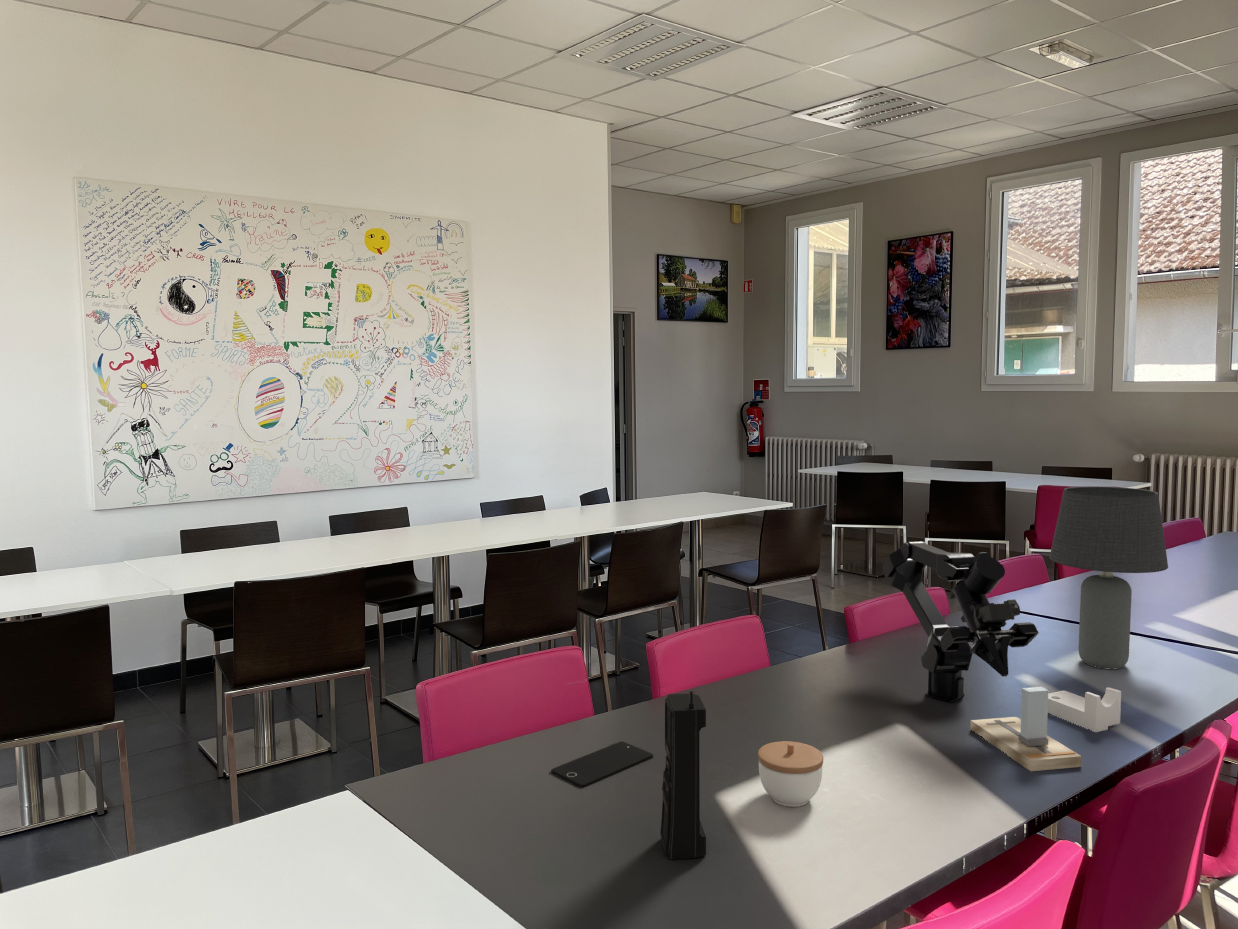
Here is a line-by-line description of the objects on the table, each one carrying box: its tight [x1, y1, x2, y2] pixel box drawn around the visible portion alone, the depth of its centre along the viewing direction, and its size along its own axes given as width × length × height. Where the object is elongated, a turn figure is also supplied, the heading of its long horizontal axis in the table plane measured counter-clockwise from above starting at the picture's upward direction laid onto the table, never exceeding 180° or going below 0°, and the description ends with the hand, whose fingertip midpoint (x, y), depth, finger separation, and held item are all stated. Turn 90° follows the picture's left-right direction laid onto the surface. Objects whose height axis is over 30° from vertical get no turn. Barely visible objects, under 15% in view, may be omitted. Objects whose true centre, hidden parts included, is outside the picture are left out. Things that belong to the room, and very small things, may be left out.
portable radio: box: [660, 690, 707, 860], centre depth 129 cm, size 8×6×25 cm
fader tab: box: [1019, 686, 1049, 746], centre depth 160 cm, size 3×4×10 cm
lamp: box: [1049, 485, 1169, 670], centre depth 210 cm, size 25×25×43 cm
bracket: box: [1048, 686, 1122, 733], centre depth 177 cm, size 13×7×8 cm, turn 24°
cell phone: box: [550, 741, 654, 789], centre depth 158 cm, size 9×18×1 cm, turn 134°
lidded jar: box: [757, 740, 824, 808], centre depth 144 cm, size 11×11×9 cm
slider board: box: [970, 716, 1082, 772], centre depth 163 cm, size 19×10×2 cm, turn 9°
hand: (1005, 675), depth 168 cm, fingers closed
